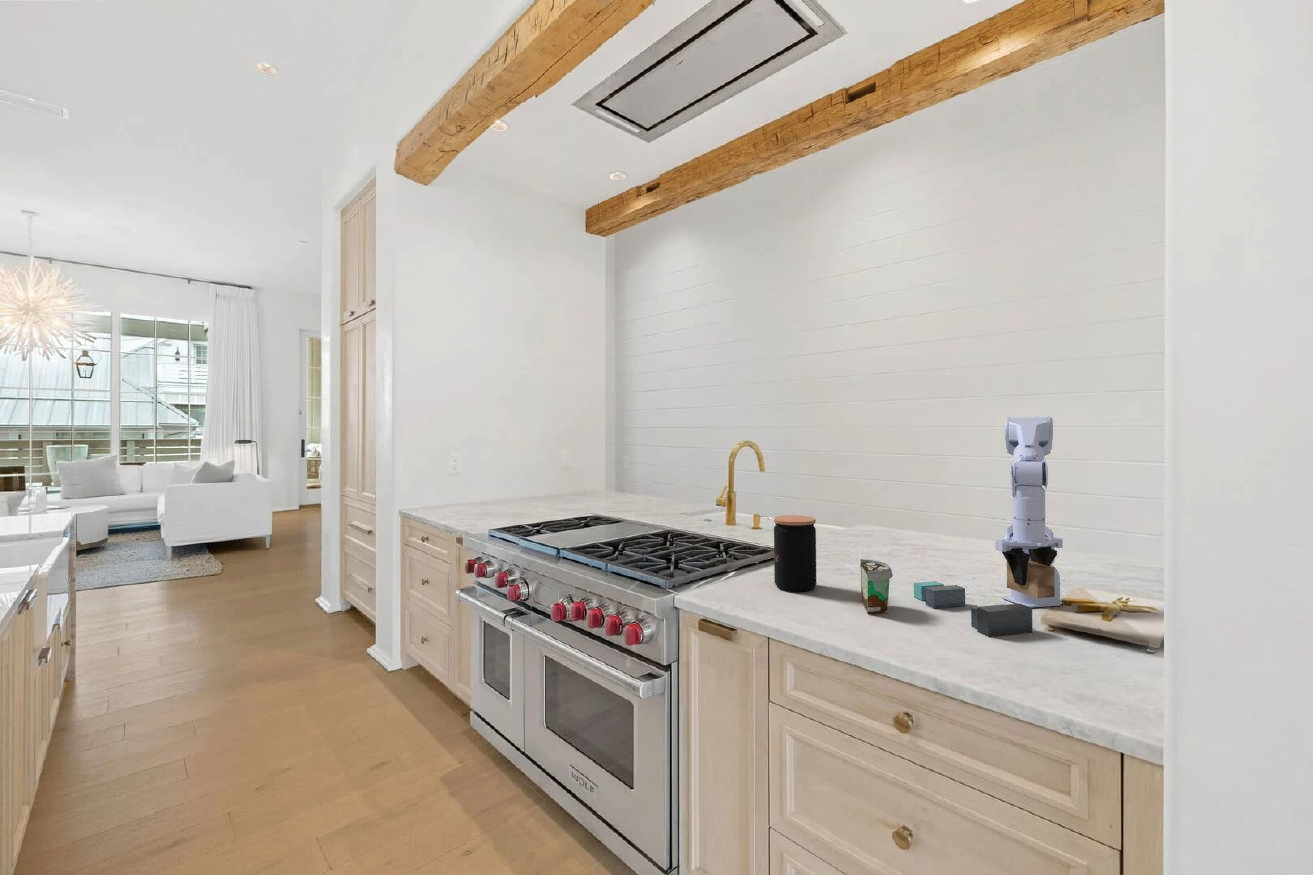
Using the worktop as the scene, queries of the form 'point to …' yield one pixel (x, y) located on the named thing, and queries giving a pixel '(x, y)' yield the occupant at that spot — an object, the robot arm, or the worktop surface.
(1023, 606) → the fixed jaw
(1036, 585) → the walnut block
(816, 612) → the worktop surface
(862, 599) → the food container
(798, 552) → the coffee jar
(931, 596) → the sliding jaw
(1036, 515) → the robot arm
